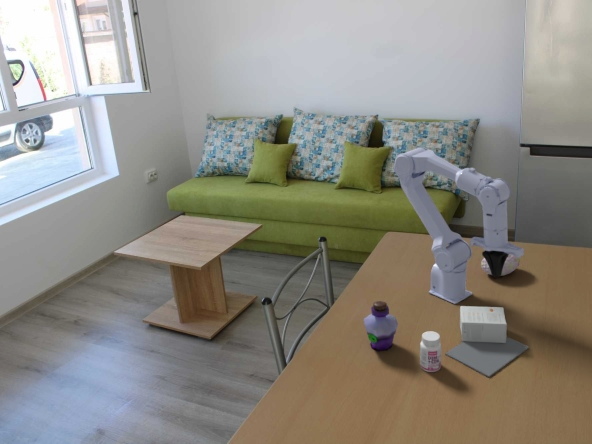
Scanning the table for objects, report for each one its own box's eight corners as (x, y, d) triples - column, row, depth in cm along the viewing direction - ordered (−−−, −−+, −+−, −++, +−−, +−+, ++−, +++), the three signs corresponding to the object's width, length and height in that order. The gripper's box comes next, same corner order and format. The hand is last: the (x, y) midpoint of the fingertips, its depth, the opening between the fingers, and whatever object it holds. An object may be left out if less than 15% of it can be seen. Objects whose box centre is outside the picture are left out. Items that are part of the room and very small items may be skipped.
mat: (445, 354, 132) (445, 353, 132) (485, 328, 141) (485, 327, 141) (488, 377, 123) (488, 376, 123) (528, 348, 132) (529, 346, 132)
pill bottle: (429, 375, 126) (429, 344, 123) (415, 364, 130) (415, 334, 127) (445, 368, 128) (446, 337, 124) (431, 357, 132) (431, 327, 128)
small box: (460, 341, 136) (506, 344, 133) (461, 322, 134) (507, 324, 131) (459, 324, 143) (502, 326, 140) (460, 305, 141) (503, 307, 138)
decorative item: (472, 262, 165) (494, 236, 163) (483, 269, 174) (504, 245, 172) (495, 281, 159) (518, 255, 158) (505, 287, 168) (528, 262, 166)
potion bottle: (360, 352, 136) (357, 310, 132) (368, 333, 143) (366, 292, 139) (394, 357, 133) (393, 314, 128) (401, 337, 140) (401, 296, 136)
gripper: (461, 226, 144) (464, 274, 148) (511, 237, 132) (512, 288, 137) (478, 218, 148) (480, 265, 152) (528, 229, 136) (528, 279, 140)
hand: (496, 275), depth 144 cm, fingers closed
